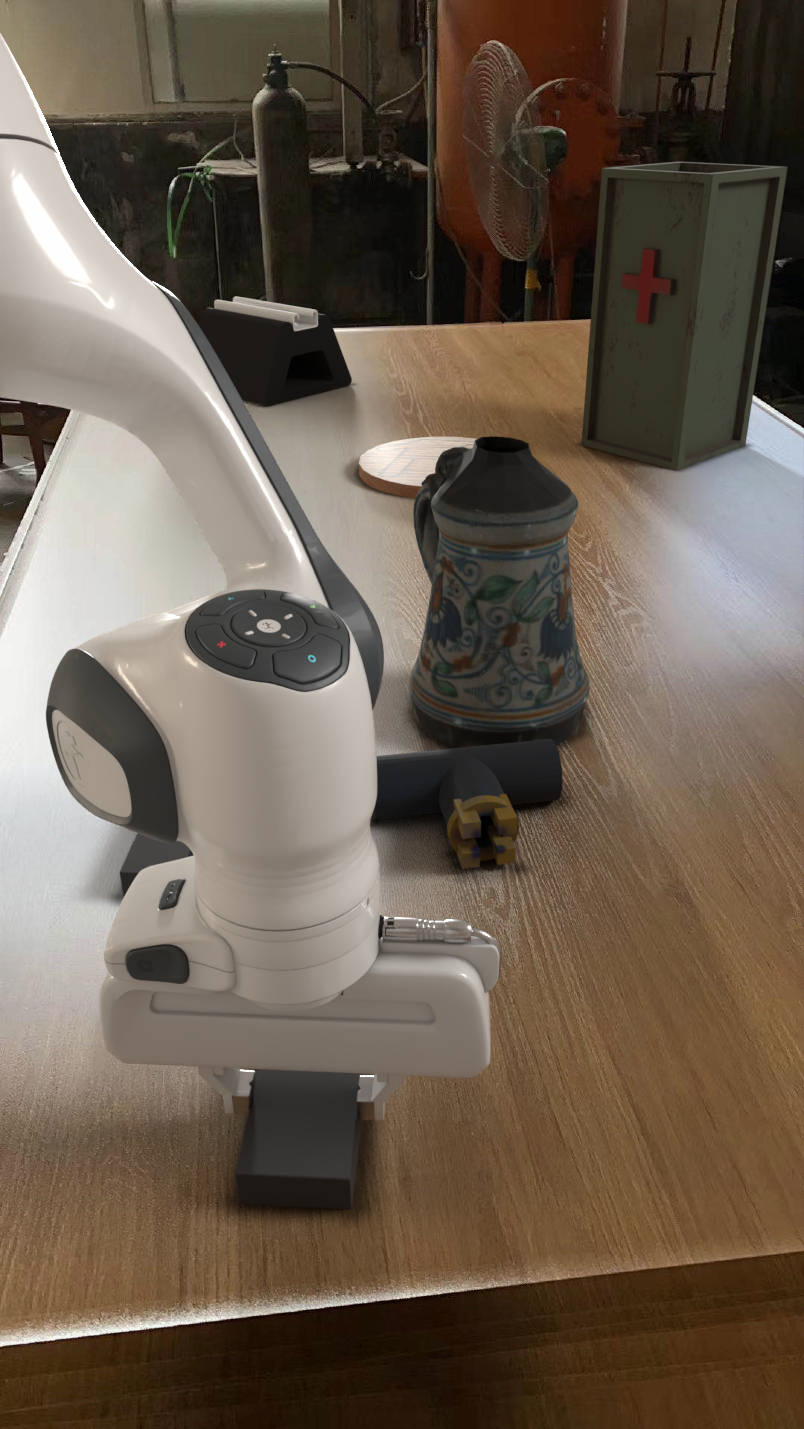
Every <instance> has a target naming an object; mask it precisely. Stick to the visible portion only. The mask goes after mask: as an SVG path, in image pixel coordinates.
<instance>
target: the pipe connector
mask: <svg viewBox="0 0 804 1429" xmlns="http://www.w3.org/2000/svg"><path fill="white" fill-rule="evenodd" d="M557 746H558V745H556V744H555V742H554V741H553V740H552V739H545V740H535V741H525V742H515V743H504V744H494V745H484V746H474V747H463V748H445V749H443V748H442V749H434V750H423V751H422V750H421V751H414V752H413V751H412V752H404V753H403V752H402V753H393V754H381V755H376V757H377V799H376V804H375V808H374V810H373V813H372V816H371V819H372V820H373V821H374V820H375V821H376V820H383V819H385V820H386V819H393V818H402V817H403V818H405V817H413V816H421V815H423V816H424V815H430V814H441V813H442V816H443V819H444V821H445V824H446V830H447V832H446V833H447V836H448V839H449V841H450V844H451V847H452V849H453V850H454V851H455V853H456V855H457V858H458V861H459V864H460V867H461V869H463V870H464V869H472V868H480V867H481V862H482V861H488V860H493V859H494V860H495V862H496V864H497V865H500V866H501V865H507V864H515V863H516V853H517V852H516V850H517V848H516V845H515V842H516V840H517V838H518V836H519V832H520V822H519V819H518V816H517V813H516V811H515V809H514V807H513V806H517V805H525V804H526V805H527V804H534V803H535V804H537V803H545V802H555V801H558V800H560V798H561V796H562V792H563V782H564V781H563V767H562V760H561V756H560V752H559V748H558V747H557Z"/></svg>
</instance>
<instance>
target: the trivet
mask: <svg viewBox="0 0 804 1429" xmlns="http://www.w3.org/2000/svg"><path fill="white" fill-rule="evenodd" d="M477 439H478V438H473V437H462V436H424V437H423V436H422V437H412V438H404V439H397V440H392V441H390V442H385V443H381V444H378V445H375V446H374V447H372V448H370V449H368V450H366V451H365V452H364V453H362V454H361V455H360V457H359V460H358V475H359V477H360V479H361V480H362V482H363V483H365V484H366V485H368V486H369V487H370V488H372V489H375V490H377V491H380V492H382V493H386V494H387V495H393V496H399V497H405V498H410V499H416V496H417V494H418V492H419V490H420V488H421V487H422V484H421V483H422V482H423V481H424V480H425V479H426V477H427V476H428V475H430V474H433V473H435V467H436V463H437V460H438V458H439V457H440V455H441V454H442V452H443V451H446V450H448V449H451V448H454V447H465V448H470V449H471V448H473V445H474V442H475V440H477Z"/></svg>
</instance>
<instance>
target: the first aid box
mask: <svg viewBox="0 0 804 1429" xmlns="http://www.w3.org/2000/svg"><path fill="white" fill-rule="evenodd" d="M787 173H788V166H778V165H757V164H737V163H736V164H734V163H731V164H730V163H714V162H697V161H696V162H695V161H694V162H693V161H671V162H658V163H657V162H656V163H646V164H636V165H635V164H633V165H623V166H612V167H610V166H609V167H601V173H600V174H601V176H600V189H599V202H598V204H599V205H598V216H597V229H596V242H595V243H596V244H595V256H594V267H593V268H594V271H593V284H592V296H591V300H592V301H591V309H590V323H589V324H590V325H589V338H588V352H587V364H586V365H587V366H586V378H585V391H584V392H585V393H584V403H583V404H584V406H583V415H582V416H583V418H582V432H581V446H583V447H587V448H591V449H594V450H599V451H601V452H602V451H603V452H606V453H609V454H614V455H618V456H621V457H625V458H629V459H632V460H636V461H639V462H644V463H647V464H651V465H655V466H658V467H662V468H666V469H669V470H673V471H680V470H682V469H685V468H688V467H690V466H691V467H692V466H694V465H696V464H699V463H701V462H704V461H708V460H711V459H713V458H715V457H719V456H721V455H724V454H727V453H730V452H732V451H735V450H737V449H740V448H743V447H746V444H747V438H748V431H749V426H750V425H749V424H750V418H751V412H752V405H753V398H754V392H755V384H756V378H757V371H758V365H759V359H760V352H761V346H762V339H763V331H764V325H765V319H766V313H767V312H766V311H767V306H768V298H769V293H770V292H769V291H770V286H771V281H772V280H771V279H772V272H773V265H774V261H775V260H774V259H775V254H776V246H777V240H778V234H779V227H780V221H781V214H782V207H783V200H784V194H785V186H786V180H787Z"/></svg>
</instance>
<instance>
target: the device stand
mask: <svg viewBox="0 0 804 1429" xmlns="http://www.w3.org/2000/svg"><path fill="white" fill-rule="evenodd" d="M213 306H214V308H213V307H206V308H205V309H204V310H203V312H202V316H201V318H200V319H201V320H200V324H199V327H200V329H201V330H202V332H203V333H204V335H205V337H206V338H207V340H208V341H209V343H210V345H211V346H212V348H213V350H214V351H215V353H216V355H217V356H218V358H219V360H220V362H221V363H222V365H223V367H224V369H225V370H226V372H227V374H228V376H229V377H230V379H231V381H232V383H233V384H234V386H235V388H236V390H237V392H238V393H239V395H240V397H241V399H242V401H245V402H249V403H253V404H257V405H260V406H265V407H270V406H274V405H278V404H282V403H285V402H290V401H293V400H297V399H301V398H305V397H309V396H312V395H316V394H319V393H320V394H321V393H325V392H329V391H332V390H336V389H341V388H344V387H349V386H351V384H352V382H353V378H352V376H351V373H350V370H349V368H348V364H347V362H346V359H345V356H344V353H343V351H342V348H341V345H340V343H339V340H338V338H337V334H336V332H335V330H334V327H333V324H332V322H331V319H330V316H328V314H324V313H319V312H318V310H317V309H312V308H308V307H307V308H306V307H301V306H295V305H289V304H284V303H278V302H272V301H265V300H259V299H254V298H249V297H241V296H234V297H232V301H228V300H223V299H215V300H214V302H213Z"/></svg>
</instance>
